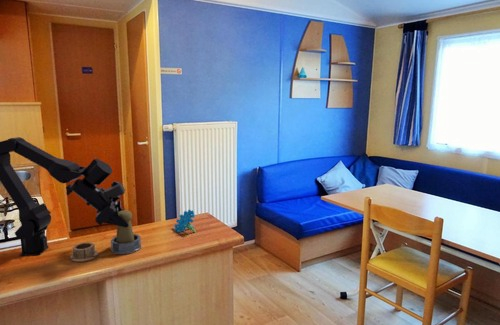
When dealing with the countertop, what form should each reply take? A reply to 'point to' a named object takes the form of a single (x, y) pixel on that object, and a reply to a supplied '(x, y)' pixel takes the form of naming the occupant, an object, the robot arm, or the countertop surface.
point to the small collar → (84, 252)
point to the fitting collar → (126, 246)
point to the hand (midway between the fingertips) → (128, 223)
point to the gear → (185, 221)
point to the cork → (122, 232)
